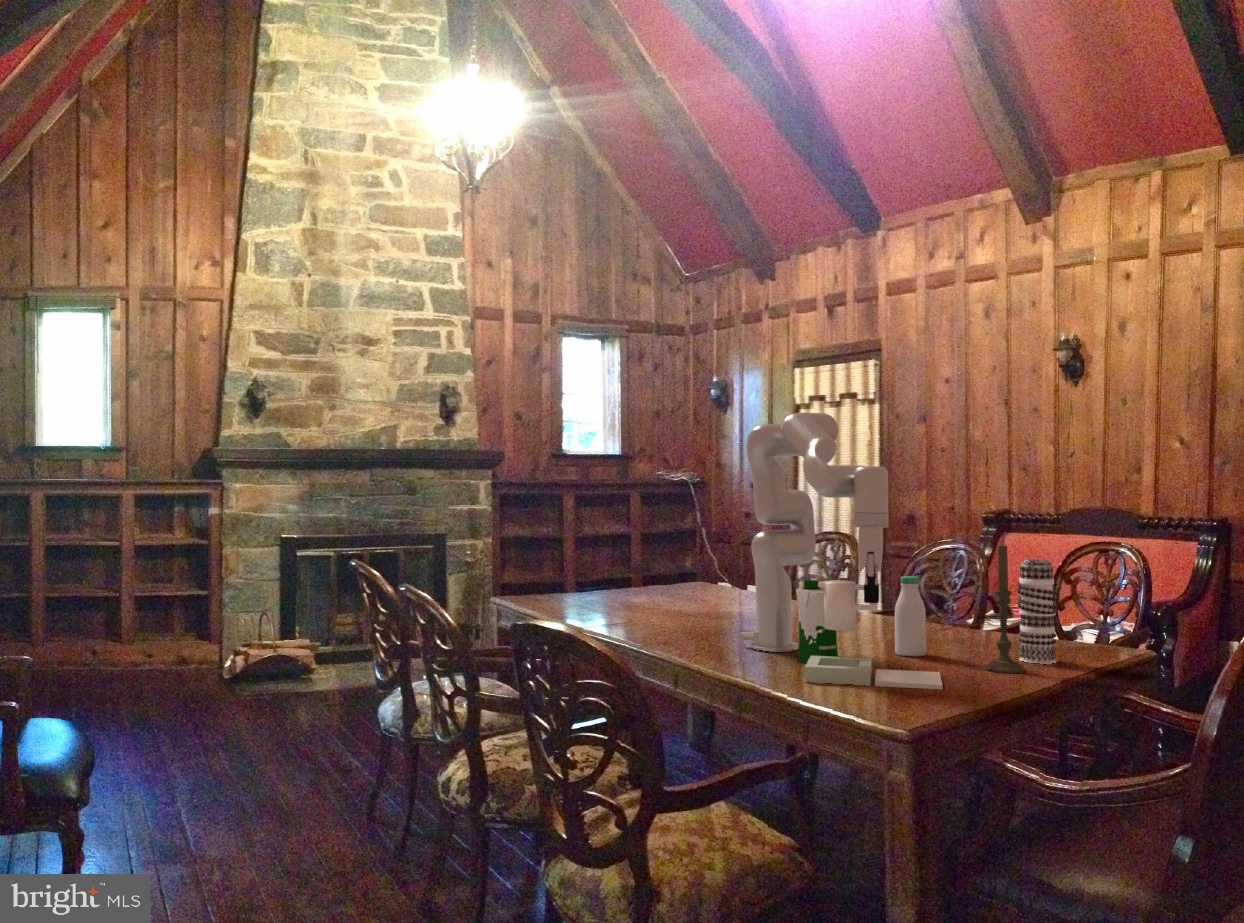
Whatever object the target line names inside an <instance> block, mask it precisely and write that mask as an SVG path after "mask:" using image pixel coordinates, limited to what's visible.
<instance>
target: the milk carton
mask: <svg viewBox="0 0 1244 923" xmlns="http://www.w3.org/2000/svg"><path fill="white" fill-rule="evenodd" d="M818 582H821V580H818V579H817V580H816V579H806V580H803V588H797V589H795V591H796V594H795V595H796V599H797V604H798V657H797V658H798V661H801V662H800V663H802V662H803V664H806V663H807V662H808V660H809V658H810V656H833V657H839V652H838V637H837V636H838V635H837V634H838V633H837V632H838V631H837V630H829V629H825V628H824V587H818Z"/></svg>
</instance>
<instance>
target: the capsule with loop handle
mask: <svg viewBox="0 0 1244 923" xmlns="http://www.w3.org/2000/svg"><path fill="white" fill-rule="evenodd" d="M818 587H820V588H824V628H825V629H829V630H837V632H838V631H843V632H844V631H845V632H847V631H854V630H856V611H858V610H859V611H873V612H874V611H875V612H876V611H878V603H869V604H861V603H860V604H859V603H858V604H857V603H856V593H857V592H856V591H864V584H856V581H850V580H840V579H835V580H831V579H830V580H824V581H820V582H818Z"/></svg>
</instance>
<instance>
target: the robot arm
mask: <svg viewBox="0 0 1244 923" xmlns="http://www.w3.org/2000/svg"><path fill="white" fill-rule="evenodd" d="M838 436H839V425H838V423H837V421H836V419H835V418H834V417H833V416H832V415H830V414H828V413H826V412H825V413H824V412H823V413H821V412H795V413H792V414H791V413H790V414H789V415H787V416H786V417H785V418H784V419H783V421H782V423H781V424H780V423H768V424H767V423H765V424H760V425H757V426H755V427H754V428H752V429H751V430H750V432H749V433H748V436H747V440H746V456H747V459H748V463H749V467H750V470H751V474H752V485H753V500H754V501H753V504H754V514H755V518H756V520H757V521H758V522H759V523H760V524H761V525H767V526H786V525H789V526H790V529H767V530H763V531H761V532H760V531H759V532H758V533H756V534H755V535H754V537H753V538H752V540H751V545H750V546H751V547H750V548H751V555H752V560H753V566H754V577H755V579H754V580H755V630H754V631H751V632H748V631H747V632H743V631H741V632H740V633H739V640H743V641H751V643H750V648H751V647H752V648H753V649H752V648H751V649H752V650H754V649H757V650H756V651H758V650H763V651H762V652H765V651H769V652H768V653H789V652H794V651H797V650H799V643H796V642H793V623H792V621H793V617H792V616H793V613H792V612H793V610H792V609H793V608H792V602H793V601H792V600H793V599H792V580H791V577H790V576H789V574H788V572H787V571H786V569H785V566H799V565H806V564H809V563H811V562H812V561H813V559H814V558H815V555H816V549H817V548H816V546H817V545H816V531H815V517H814V516H815V514H814V506H813V502H812V499H811V498H810V496H809V494H807V492H805V491H803V490H800V489H787V488H786V483H785V482H786V480H785V472H784V470H783V468H782V466H781V465H780V463H779V462H778V460H776V459H775V457H776V456H777V457H779V456H780V457H802V458H803V461H802V469H803V474H804V475H803V476H804V478H805V480H806V482H807V483H808V484H809V485H810V486H811V487H812V489H814V490H815V492H816V493H817V494H819V495H820V496H823V497H824V498H825V497H826V498H830V499H831V498H834V499H835V498H836V499H837V498H853V507H854V508H853V509H854V510H853V511H854V513H853V514H854V515H853V518H854V519H853V520H854V523H853V524H854V525H853V527H854V528H858V541H857V543H858V544H857V546H858V548H857V550H858V553H857V554H858V555H857V557H858V560H857V562H858V566H857V568H858V569H857V570H858V571H859V572H862V570H864V584H863V585H864V590H863V602H864V603H867V604H870V603H877V604H879V602H880V583H879V572H880V571H881V569H882V563H883V552H884V551H883V550H884V549H883V548H884V547H883V546H884V529H886V528H889V472H888V469H887V468H886V467H884V466H880V465H879V466H878V465H869V466H867V465H851V464H849V465H848V464H847V465H846V464H844V465H843V464H840V465H839V464H837V465H836V464H834V465H829V463H830V462H831V461H832V460H833V459H834V457H835V456H836V454H837V450H838V449H837V443H836V440H837V438H838ZM793 650H794V651H793Z"/></svg>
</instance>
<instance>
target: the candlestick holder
mask: <svg viewBox="0 0 1244 923" xmlns="http://www.w3.org/2000/svg"><path fill="white" fill-rule="evenodd" d="M1000 544H1001V545H999V544H998V545H997V590H996V589H995V590H994V594H995V595H996V598H995V601H996V602H995V603H997V604H998V605H999V613H998V618H999V625H1000V627H999V630H1000V637H999V638H998V640H996V641H995V645H996V647H997V649H998V650H999V655H998V656H997V657H996V658H995V659H992V660H991V661H989V662H988V663H986V664H984V665H983V670H986V671H988V672H992V673H999V674H1021V673H1020V672H1022V673H1024V672H1025V671H1026V668H1025V666H1023V665H1021V664H1020V663H1019V662H1017V660H1014V659H1012V658H1011V657H1010V655H1009V651H1010V650H1012V649H1011V648H1012V645H1013V643H1012V641H1010V640H1009V637H1008V635H1007V632H1008V627H1007V626H1008V619H1009V614H1008V612H1009V611H1008V607H1007V606H1008V605H1009V604H1011V602H1012V601H1011V598H1010V596H1011V595H1012V593H1013V591H1012V590H1009V568H1008V567H1009V566H1008V565H1009V564H1008V561H1009V560H1008V559H1009V558H1008V545H1006V544H1004V545H1003V543H1002V542H1000Z"/></svg>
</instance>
